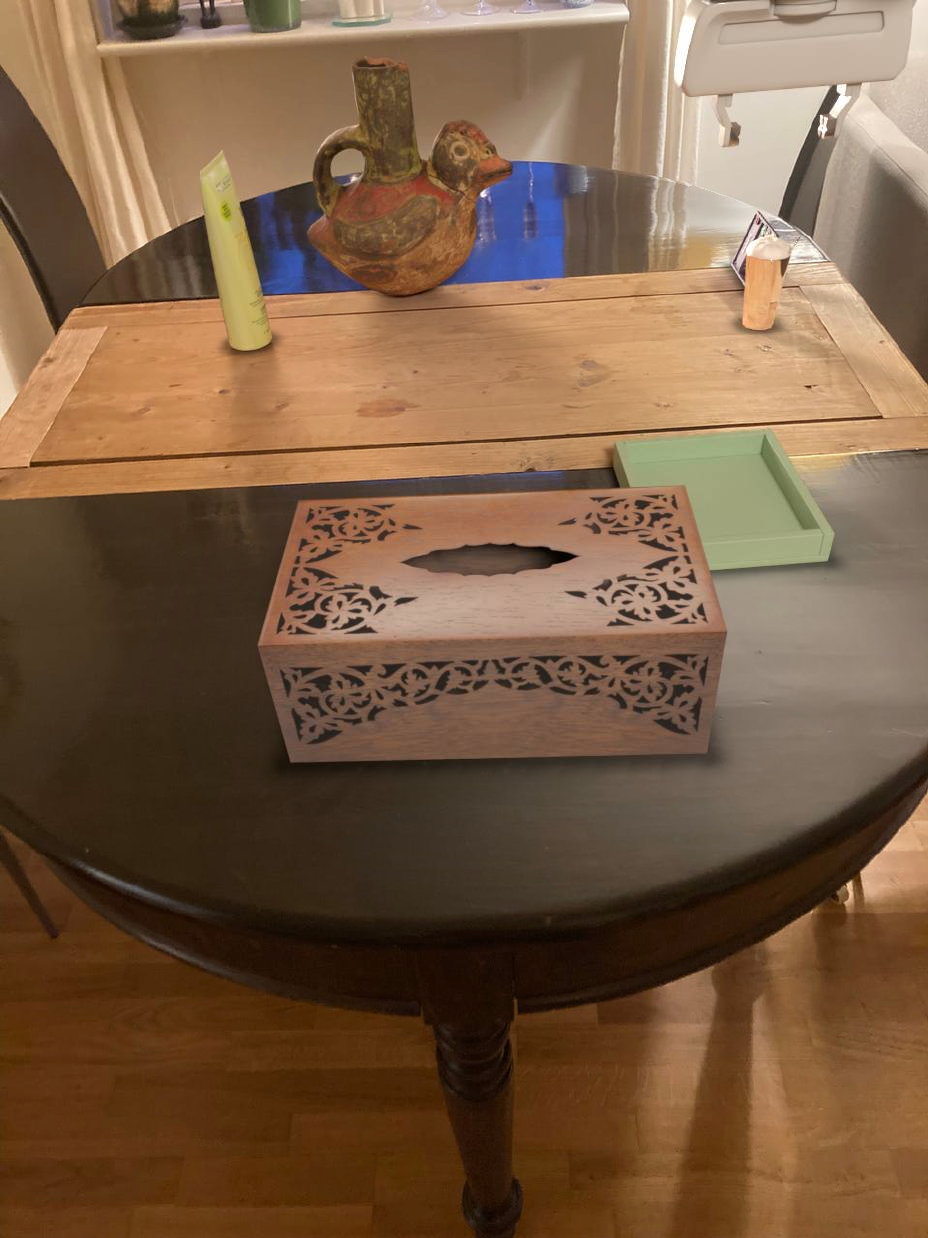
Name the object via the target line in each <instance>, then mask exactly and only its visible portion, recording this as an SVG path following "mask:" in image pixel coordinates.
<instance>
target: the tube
mask: <svg viewBox="0 0 928 1238" xmlns="http://www.w3.org/2000/svg"><path fill="white" fill-rule="evenodd" d="M199 189H200V196H201V204H202V209H203V216H204V223H205V228H206V234H207V239H208V246H209V250H210V257H211V263H212V268H213V272H214V278H215V282H216V287H217V293H218V299H219V302H220V303H219V304H220V308H221V312H222V317H223V321H224V326H225V331H226V335H227V340H228V343H229V346H230V347H231V348H232V349H234V350H237V351H243V352H244V351H245V352H246V351H247V352H248V351H256V350H258V349H262V348H265V347H266V346H267V345H269V344H270V343H271V342H272V339H273V335H272V330H271V324H270V322H269V321H270V320H269V315H268V311H267V307H266V303H265V299H264V294H263V293H264V292H263V290H262V285H261V281H260V278H259V277H260V276H259V272H258V268H257V264H256V260H255V256H254V252H253V248H252V244H251V240H250V237H249V233H248V229H247V224H246V221H245V218H244V214H243V211H242V207H241V203H240V200H239V196H238V192H237V190H236V189H237V188H236V186H235V182H234V178H233V175H232V173H231V170H230V167H229V164H228V161H227V159H226V155H225V152H224V150H223V149H221V151H220V152H219V153H218V154H216V156H215V157H214V158H213V159H212V160H211V161H210V162H209V163H208V164H207V165H206V166H205V167H204V168H202V170H200V171H199Z"/></svg>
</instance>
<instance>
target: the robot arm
mask: <svg viewBox="0 0 928 1238" xmlns="http://www.w3.org/2000/svg"><path fill="white" fill-rule="evenodd" d="M917 1H918V0H691V1H690V2H689V4H688V6H687V7H686V9H685V10H684V11H685V12H684V15H683V17H682V21H681V25H680V29H679V35H678V41H677V45H676V54H675V59H674V60H675V61H674V70H673V71H674V72H673V80H674V83H675V85H676V86H677V88H678V89H679V90H680V91H681V92H682V93H683V94H684V95H685V96H686V97H688V98H696V97H697V98H699V97H710V105H711V107H712V110H713V112H714V114H715V117H716V119H717V121H718V123H719V134H718V144H719V146H720V147H721V148H733V147H738V146H739V144H740V138H739V136H740V135H741V130H742V126H741V125H740V124H738V122H736V121H731V119H730V117H729V113H728V112H727V109H726V108H731V107H732V105H733V99H734V98H733V97H734V95H735V94H744V93H745V94H746V93H757V92H770V91H780V90H793V89H805V88H816V87H817V88H818V87H827V86H836V93H837V94H839V95H840V96H839V97H838V99H837V101H835V103H834V104H833V106H832V108H831V109H830V110H829V111H830V112H829V113H826V114H825V113H824V114H820V115H819V116H820V117H819V122H818V123H819V126H818V128H817V136H818V137H819V138H821V139H822V140H827V139H828V140H829V139H838V138H839V137H840V134H841V130H842V125H843V120H844V118H845V117H846V116H847V115H848V114H849V112H850V111H851V109H852V108H853V106H854V105H855V103H856V102H857V101H858V99H859V98H860V95H861V90H862V84H866V83H877V82H878V83H879V82H888V81H890V82H891V81H894V80H895V79H897V78H898V77H899V76H900V74H901V73H902V72H903V70H904V69H905V68H906V65H907V63H908V62H907V61H908V56H909V51H910V43H911V36H912V27H913V26H912V25H913V10H914V9H913V8H914V7H915V5H916V3H917Z"/></svg>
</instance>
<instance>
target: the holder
mask: <svg viewBox="0 0 928 1238" xmlns="http://www.w3.org/2000/svg"><path fill="white" fill-rule="evenodd" d="M612 464H613V465H612V467H613V470H614V474H615V476H616V481H617V482H618V485H619V488H627V487H653V486H679V485H685V486H686V489H687V493H688V496H689V500H690V503H691V507H692V510H693V514H694V517H695V521H696V524H697V528H698V531H699V535H700V538H701V542H702V545H703V549H704V552H705V556H706V559H707V563H708V566H709V570H710V571H719V570H720V571H722V570H723V571H724V570H734V569H746V568H758V567H759V568H761V567H774V566H785V565H799V564H809V563H822V562H823V563H824V562H828V561H829V558H830V554H831V552H832V551H831V550H832V546H833V542H834V538H835V535H836V534H835V531H834V530H833V528H832V527H831V525H830V523H829V522H828V520H827V518H826V517H825V515H824V514H823V511H822V510H821V509H820V507H819V505H818V503H817V502H816V500H815V499H814V497H813V495H812V494H811V492H810V490H809V489H808V487H807V486H806V484H805V482H804V480H803V479H802V477H801V476H800V473H799V472H798V471H797V469H796V467H795V465H794V464H793V462H792V460H791V459H790V457H789V456H788V454H787V452H786V450H785V449H784V447H783V446H782V444H781V442H780V440H779V439H778V437H777V436H776V434H775V432H774V431H773V429H772V428H764V429H761V428H760V429H747V430H736V431H735V430H734V431H721V432H711V433H710V432H709V433H699V434H697V433H696V434H687V435H686V434H685V435H673V436H661V437H649V438H648V437H647V438H635V439H624V440H623V439H622V440H614V443H613V463H612Z"/></svg>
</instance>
